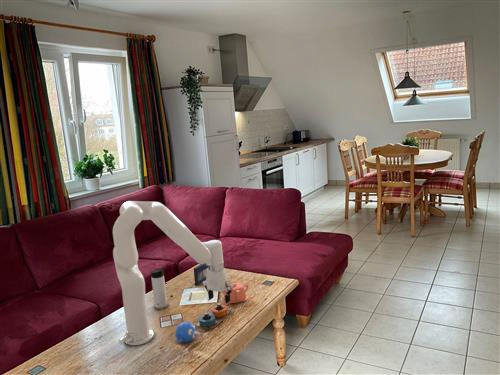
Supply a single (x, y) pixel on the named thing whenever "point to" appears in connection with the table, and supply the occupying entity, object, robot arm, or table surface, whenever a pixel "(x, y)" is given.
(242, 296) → the teapot
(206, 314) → the stand
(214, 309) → the orange octagonal ring
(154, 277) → the travel mug
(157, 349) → the table surface
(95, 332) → the table surface
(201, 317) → the teal faceted ring
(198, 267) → the vhs cassette tape
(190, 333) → the toy whale
